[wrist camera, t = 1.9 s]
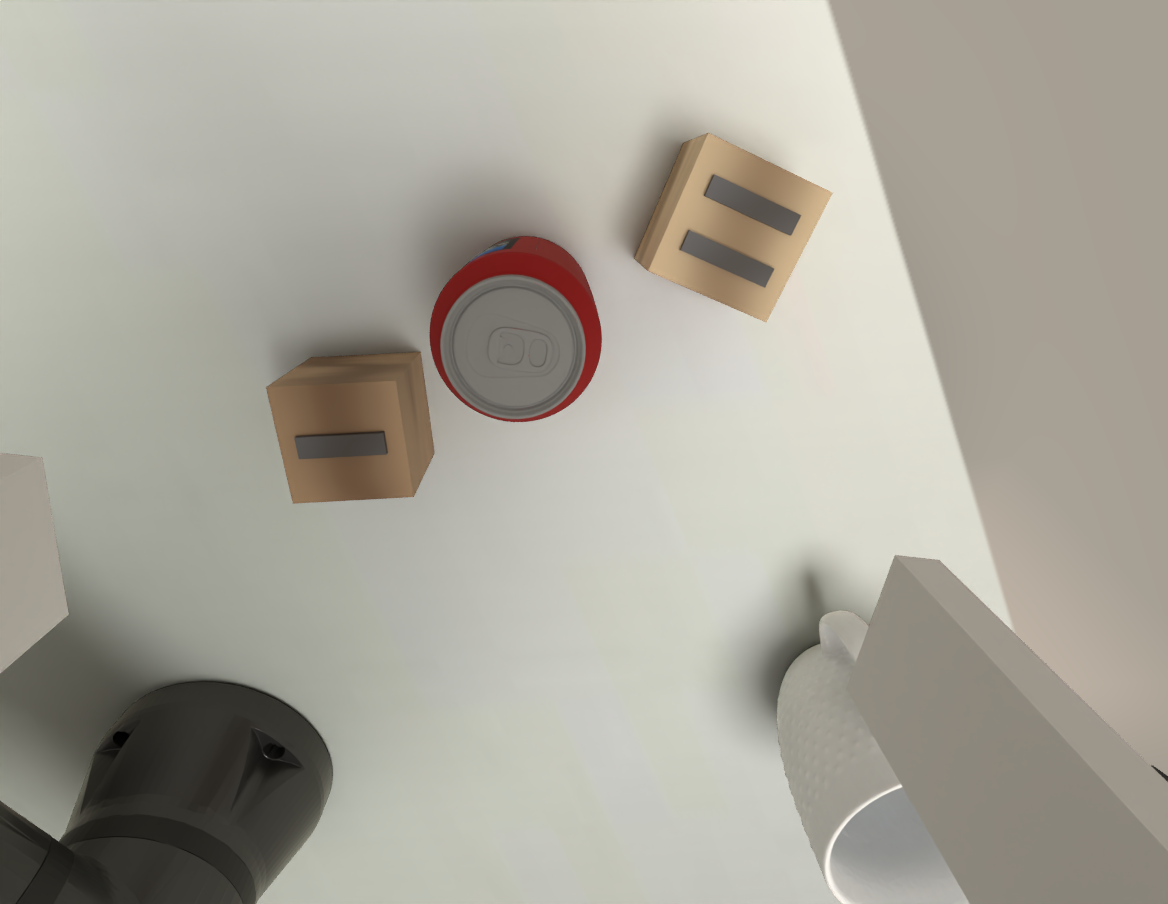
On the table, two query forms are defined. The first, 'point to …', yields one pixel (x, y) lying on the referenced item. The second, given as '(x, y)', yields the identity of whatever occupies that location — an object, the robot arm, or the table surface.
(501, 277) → the beverage can
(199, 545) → the table surface
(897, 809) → the mug
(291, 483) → the wooden minus sign cube
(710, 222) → the wooden equals sign cube
